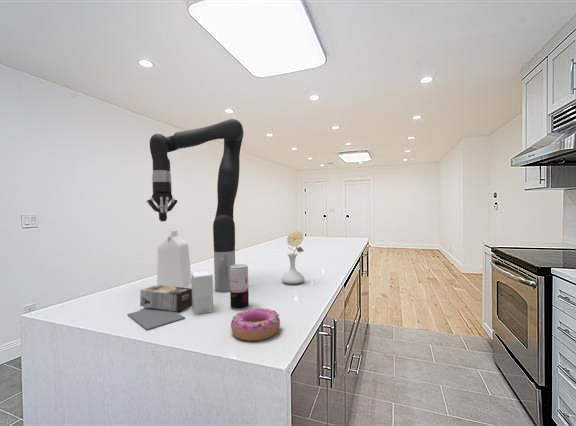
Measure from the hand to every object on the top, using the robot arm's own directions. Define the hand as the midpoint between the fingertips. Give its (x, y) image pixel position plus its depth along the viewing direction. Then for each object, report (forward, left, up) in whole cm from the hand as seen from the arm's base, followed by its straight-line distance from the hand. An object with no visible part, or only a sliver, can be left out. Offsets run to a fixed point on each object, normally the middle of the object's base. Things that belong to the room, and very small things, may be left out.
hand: (163, 221), depth 124 cm
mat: (-9, +29, -31) cm, 43 cm away
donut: (-44, +42, -31) cm, 68 cm away
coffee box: (-1, +17, -27) cm, 32 cm away
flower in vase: (-57, -10, -31) cm, 66 cm away
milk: (0, -11, -31) cm, 33 cm away
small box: (-23, +23, -31) cm, 45 cm away
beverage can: (-36, +21, -31) cm, 52 cm away
